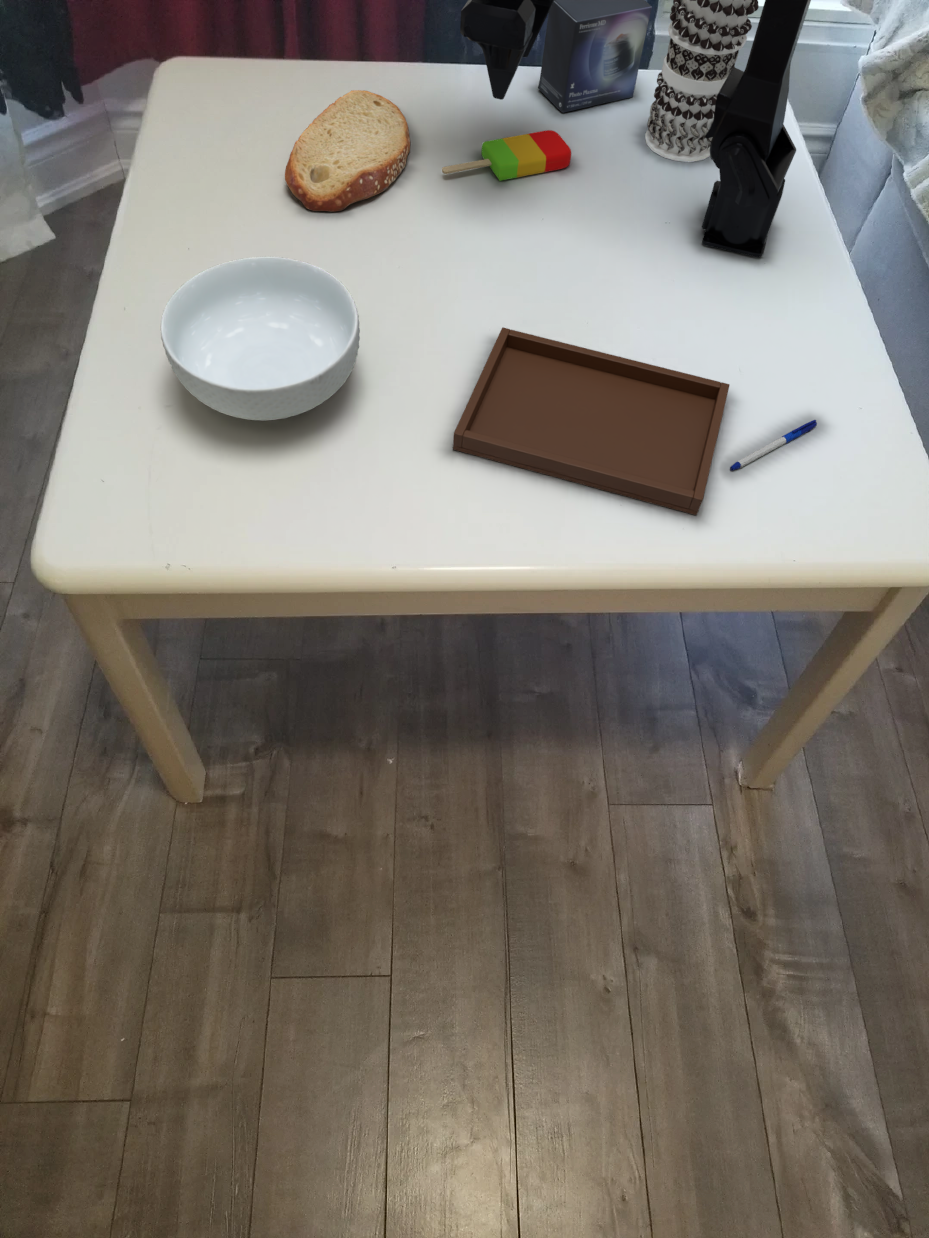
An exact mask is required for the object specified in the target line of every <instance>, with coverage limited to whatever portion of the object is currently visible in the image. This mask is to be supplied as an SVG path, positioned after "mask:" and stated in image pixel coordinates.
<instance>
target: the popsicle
mask: <svg viewBox="0 0 929 1238" xmlns="http://www.w3.org/2000/svg"><path fill="white" fill-rule="evenodd" d="M480 152H481V157H482V159H478V160H473V161H468V162H463V163H462V162H461V163H457V164H451V165H447V166H443V167H441V172H442V173H443V174H445V175H449V174H454V173H459V172H464V171H469V170H476V169H480V168H485V167H489V168H490V169H491V171H492V172H493V174H494V175H495V177H496V178H497V179H498V181H499V182H501V181H506V180H507V181H508V180H511V179H517V178H521V177H525V176H526V177H527V176H531V175H532V176H533V175H537V174H543V173H547V172H552V171H557V170H563V169H565V168H567V167H569V165H570V163H571V160H572V150H571V148H570V146H569V145H568V143H566V141H565V140H564V139H563V137H562V136H561V135H560V134H559V133H558V132H556V131H555V130H552V129H548V130H547V129H546V130H540V131H535V132H530V133H523V134H519V135H513V136H506V137H502V138H496V139H491V140H490V139H489V140H485V141H483V142H482V144H481V151H480Z"/></svg>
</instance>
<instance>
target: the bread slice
mask: <svg viewBox="0 0 929 1238" xmlns="http://www.w3.org/2000/svg"><path fill="white" fill-rule="evenodd" d="M410 151H411V138H410V130H409V125H408V122H407V120H406V117H405V115H404V114H403V113H402V111H401V109H400V108H399V106H398V105H396V104H395V103H394V102H392V101H391V100H390V99H388V98H386V97H384V96H382V95H380V94H379V93H378V94H377V93H374V92H371V91H368V90H360V89H358V90H357V89H356V90H355V89H353V90H350V91H349V92H347V93H346V94H343V95H342V96H339V97H338V98H337V99H336V100H335V101H334V102H332V103H331V104H329V105H328V106H327V107H326V108H325V109H324V110H323V111H322V112H320V114H318V115H317V117H315V118H314V119H313V121H312V122H311V123H310V124H308V126H307V127H306V128H305V129H304V130H303V132H302V133H301V134H300V135H299V137H298V139H297V140H296V141H295V142H294V144H293V147H292V150H291V151H290V154H289V158H288V161H287V163H286V166H285V170H284V180H285V183H286V185H287V186H288V188H289V190H290V192H291V194H292V195H293V196H294V197H295V198H296V199H298V200H299V201H300V202H301V203H302V205H303V206H304V207H305V208H306V209H308V210H310V211H313V212H341V211H344V210H346V208H347V207H349V206H350V205H352V204H354V203H358V202H360V201H363V200H367V199H370V198H373V197H375V196H378V195H380V194H381V193H383V192H385V191H386V190H387V189H388V188H389V187H390V185H391V184H393V182H395V181H396V179H398V177H399V176H400V174H401V173H402V171H403V170H405V168H406V163H407V160H408V155H409V154H410Z"/></svg>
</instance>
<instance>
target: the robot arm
mask: <svg viewBox="0 0 929 1238" xmlns="http://www.w3.org/2000/svg"><path fill="white" fill-rule="evenodd" d="M553 2H554V0H467V1H466V3H465V4H464V6H463V7H462V9H461V10H460V23H459V24H460V26H459V29H460V30H459V33H460V34H461V35H462V36H463V37H464V38H467V39H468V40H469V41H471V42H474V43H476V44H477V45H478V46H479V47H480V48H481V50H482V53H483V56H484V60H485V65H486V70H487V75H488V80H489V83H490V89H491V94H492V97H493V99H496V100H504V99H505V97H506V95H507V93H508V91H509V88H510V86H511V84H512V82H513V80H514V77H515V74H516V72H517V71H518V68H519V66H520V63H521V61H522V59H523V58H528V57H529V55H530V53H531V51H532V49H533V47H534V45H535V43H536V40H537V38H538V36H539V34H540V32H541V29H542V28H543V26H544V23H545V22H546V20H547V18H548V14H549V11H550V9H551V7H552V4H553ZM811 3H812V0H764V3H763V7H762V10H761V14H760V17H759V21H758V24H757V27H756V31H755V34H754V37H753V41H752V44H751V48H750V52H749V55H748V58H747V62H746V65H745V69H744V70H742V69H740V68H738V67H736V66H735V67H733V68H732V70H731V72H730V73H729V75H728V77H727V79H726V80H725V82H724V84H723V86H722V87H721V89H720V91H719V93H718V94H717V98H716V104H715V113H714V120H713V123H712V124H711V126H710V128H709V130H708V132H707V133H706V135H705V138H706V139H708V138H711V137H712V140H711V143H710V156H709V157H710V160H712V162H713V164H714V165H715V166H716V168H717V169H718V171H719V180H715V181H714V182H713V183H714V184H713V187H712V190H711V192H710V196H709V200H708V204H707V206H706V211H705V213H704V217H703V220H702V224H701V229H702V230H703V231H704V233H703V236H702V240H701V244H702V245H703V246H706V247H710V248H715V249H719V250H724V251H726V252H727V251H728V252H732V253H735V254H739V255H740V254H741V255H745V256H750V257H753V258H758V259H759V258H762V257H763V255H764V252H765V248H766V244H767V240H768V236H769V233H770V231H771V227H772V223H773V221H774V218H775V216H776V213H777V210H778V207H779V206H780V202H781V199H782V197H783V193H784V188H785V184H786V179H785V177H786V176H787V173H788V171H789V169H790V166H791V164H792V162H793V159H794V157H795V154H796V153H797V148H796V146H795V144H794V142H793V140H792V138H791V136H790V134H789V132H788V130H787V128H786V127H785V124H784V123H785V118H786V112H787V104H788V99H789V93H790V77H791V64H792V61H793V60H792V59H793V57H794V53H795V51H796V48H797V44H798V41H799V38H800V35H801V33H802V29H803V26H804V23H805V20H806V17H807V13H808V11H809V8H810V5H811Z"/></svg>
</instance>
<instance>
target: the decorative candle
mask: <svg viewBox="0 0 929 1238" xmlns="http://www.w3.org/2000/svg"><path fill="white" fill-rule="evenodd" d="M759 8H760V5H759V0H672V5H671V8H670V14H669V20H670V23H669V24H668V28H667V30H668V36H669V42H668V46H667V53H666V55H665V56H664V58H663V62H662V67H661V71H660V72H659V73H658V74H657V77H656V84H657V86H656V87H655V89H654V92H653V98H654V99H655V100H654V101H652V103H651V105H650V109H649V117H648V119H647V123H646V128H647V130H646V132H645V134H644V138H645V144H646V146H648V148H649V149H650V150H651V151H652V152H654V153H655V154H657V155H659V156H660V157H662V158H665V159H668V160H672V161H675V162H685V163H692V162H699V161H703V160H705V159H707V158H709V157H710V143H711V140H712V137H711V138H708V139H706V138H705V135H706V133H707V132H708V130H709V128H710V126H711V124H712V123H713V120H714V113H715V104H716V98H717V94H718V93H719V91H720V89H721V87H722V86H723V84H724V82H725V80H726V79H727V77H728V75H729V73H730V72H731V70H732V68H733V67H735V68H736V66H735V65H736V62H737V60H738V56H739V52H740V50H741V49H743V47H744V46H745V44H746V43H747V40H748V35H747V34H748V33H749V32H750V31H751V30H752V27H753V25H752V22H751V20H750V19H749V18H748V17H749V16H751V15H753V14H754V13H755V12H757V11H758V10H759Z"/></svg>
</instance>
